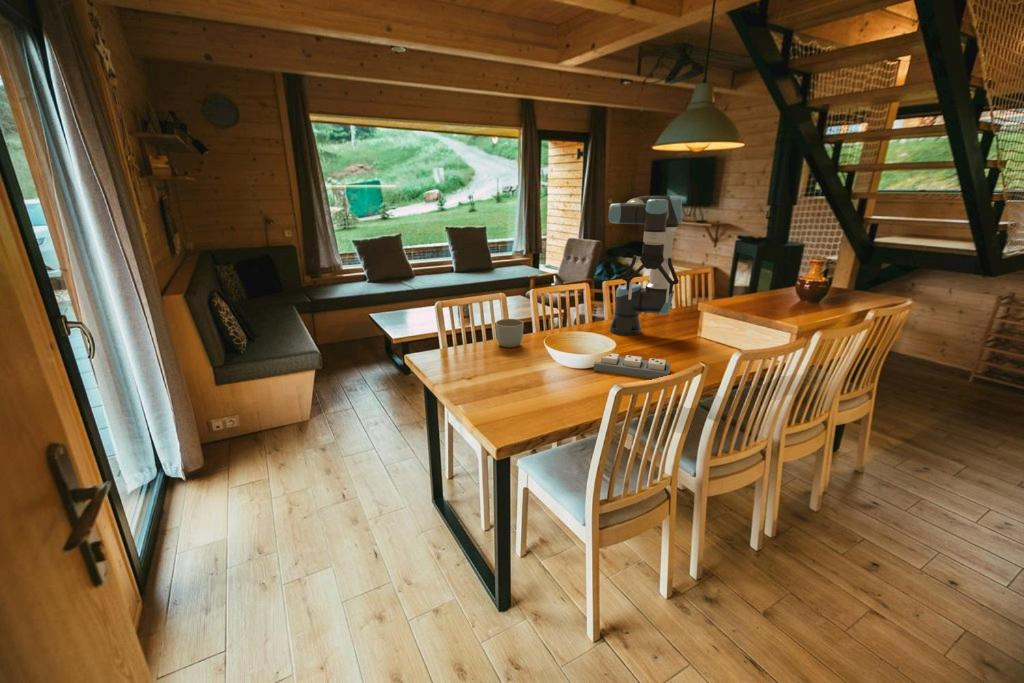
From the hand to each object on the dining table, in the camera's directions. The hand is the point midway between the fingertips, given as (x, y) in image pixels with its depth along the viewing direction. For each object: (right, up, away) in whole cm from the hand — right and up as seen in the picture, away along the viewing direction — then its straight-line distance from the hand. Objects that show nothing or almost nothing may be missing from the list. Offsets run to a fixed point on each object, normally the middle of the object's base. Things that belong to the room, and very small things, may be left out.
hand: (648, 300), depth 178 cm
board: (-4, -27, +8) cm, 28 cm away
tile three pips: (+4, -26, +4) cm, 26 cm away
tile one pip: (-13, -24, +10) cm, 28 cm away
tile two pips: (-4, -25, +7) cm, 26 cm away
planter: (-53, -17, +36) cm, 66 cm away
